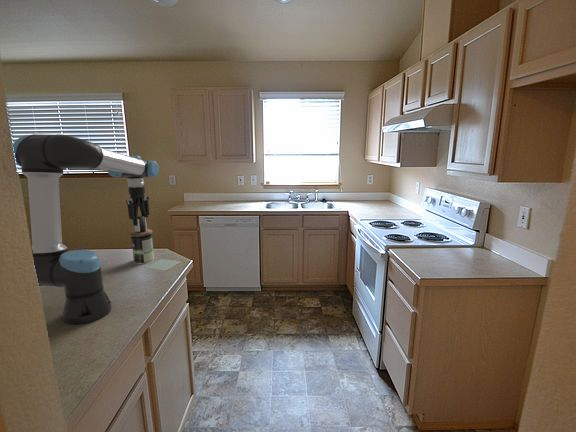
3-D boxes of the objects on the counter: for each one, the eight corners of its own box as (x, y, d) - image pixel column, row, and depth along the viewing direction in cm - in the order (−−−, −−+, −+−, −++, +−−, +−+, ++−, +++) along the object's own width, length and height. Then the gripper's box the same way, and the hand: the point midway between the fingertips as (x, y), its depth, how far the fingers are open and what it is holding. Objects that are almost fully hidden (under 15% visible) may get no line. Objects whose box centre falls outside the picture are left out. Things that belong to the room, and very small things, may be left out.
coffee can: (133, 265, 161) (130, 239, 158) (133, 259, 170) (131, 234, 167) (154, 262, 166) (152, 237, 163) (154, 256, 175) (151, 232, 172)
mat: (165, 271, 154) (165, 270, 154) (144, 268, 158) (144, 267, 158) (181, 262, 166) (181, 261, 166) (161, 259, 170) (161, 258, 170)
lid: (142, 237, 158) (140, 219, 156) (125, 235, 161) (123, 218, 159) (157, 231, 168) (155, 215, 166) (140, 230, 171) (138, 214, 169)
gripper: (129, 188, 150) (134, 235, 155) (154, 184, 166) (158, 226, 171) (116, 188, 152) (122, 233, 157) (142, 184, 169) (147, 225, 174)
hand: (141, 230), depth 164 cm, fingers closed on lid, 4 cm apart
